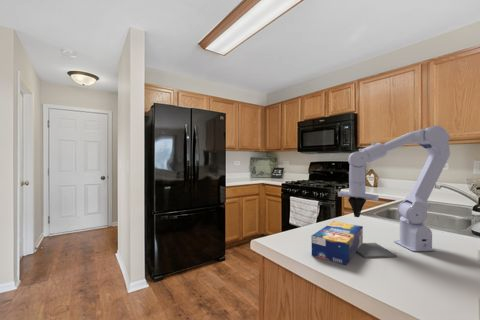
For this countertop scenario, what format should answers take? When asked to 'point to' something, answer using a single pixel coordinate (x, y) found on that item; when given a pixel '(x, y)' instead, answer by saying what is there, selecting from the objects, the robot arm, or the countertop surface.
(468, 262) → the countertop surface
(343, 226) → the beverage box
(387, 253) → the mat
